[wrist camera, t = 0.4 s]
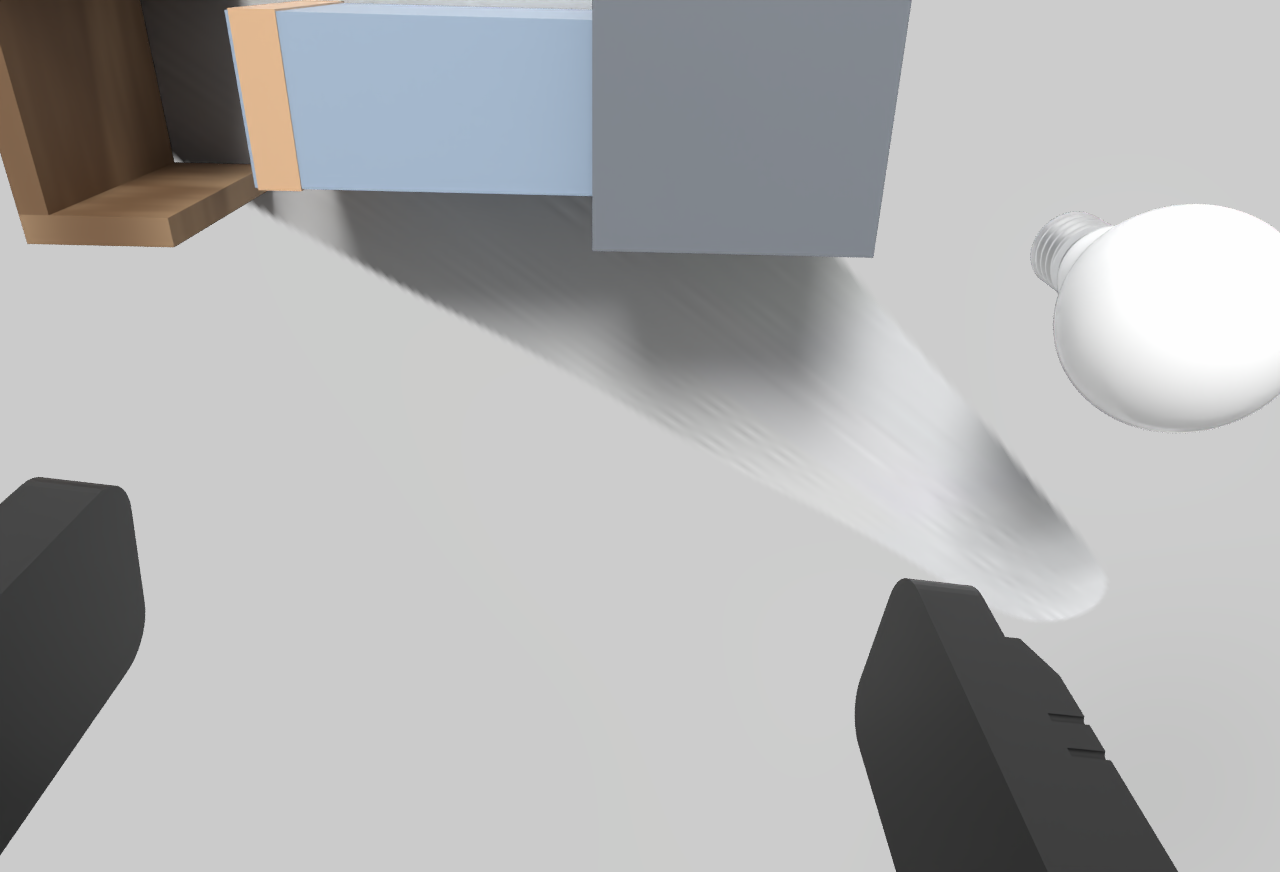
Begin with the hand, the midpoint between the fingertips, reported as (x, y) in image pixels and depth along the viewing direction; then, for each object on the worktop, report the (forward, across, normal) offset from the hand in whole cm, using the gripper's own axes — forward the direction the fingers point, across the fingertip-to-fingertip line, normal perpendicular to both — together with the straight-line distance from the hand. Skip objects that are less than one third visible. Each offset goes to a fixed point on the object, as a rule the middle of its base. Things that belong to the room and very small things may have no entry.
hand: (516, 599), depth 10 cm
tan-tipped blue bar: (+24, +1, -2) cm, 24 cm away
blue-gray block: (+24, -4, -3) cm, 24 cm away
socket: (+24, +13, -1) cm, 28 cm away
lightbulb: (+24, -17, +1) cm, 29 cm away
